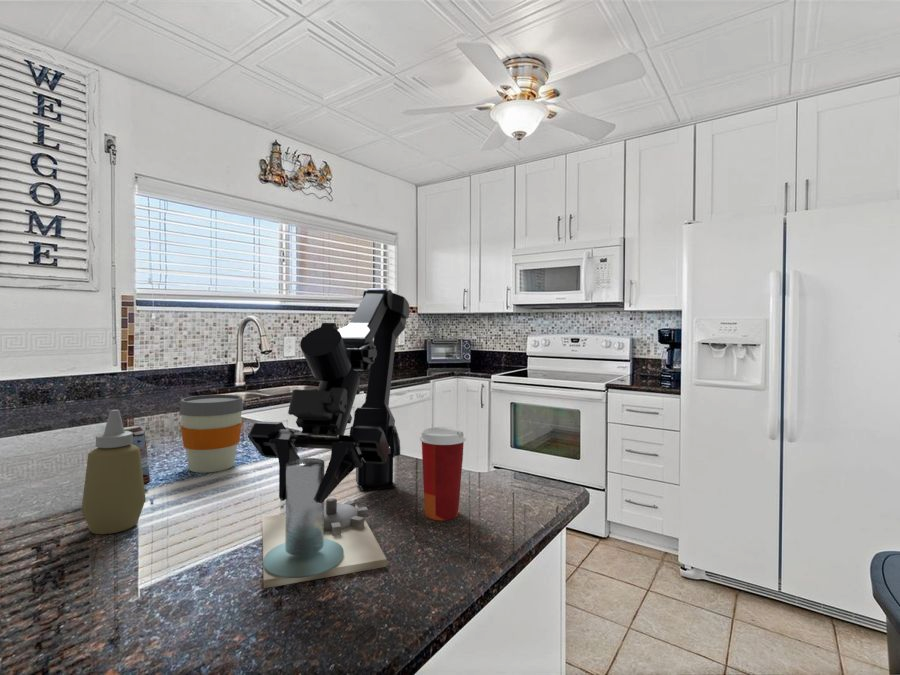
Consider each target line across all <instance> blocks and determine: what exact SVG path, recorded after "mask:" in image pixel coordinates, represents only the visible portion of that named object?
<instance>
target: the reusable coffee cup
mask: <svg viewBox="0 0 900 675" xmlns="http://www.w3.org/2000/svg"><path fill="white" fill-rule="evenodd" d="M243 401H244V400H243V397H242V396H240V395H236V394H205V395H204V394H203V395H195V396H188V397H183V398H181V400H180V406H179V414H180V415H181V421H182V423H181V424H182V425H180V430H181V438H182V444H183V448H184V449H185V451H186V457H187V465H188V470H189V471H190V472H194V473H213V472H221V471H225V470H228V469H231V468H232V467H233V466H235V461H236V460H235V459H236V454H237V447H238V444H239V443H240V440H241V433H242V425H243V422H242V421H241V419H242V411H244V404H243Z"/></svg>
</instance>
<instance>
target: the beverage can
mask: <svg viewBox="0 0 900 675" xmlns="http://www.w3.org/2000/svg"><path fill="white" fill-rule="evenodd" d="M124 430H125V431H130V432H132V433H133V443H131V444H132V445H136V446H137V447H139V449H140V455H141V464H142V472H143V481H144V488H146V487H147V485H148V484H149V483H150V482H151V475H150V468H149V458H148V446H147V438H146V432H145V431H144V429H143V428H142V426H141V425H134V426H133V425H132V426H126V427H124Z"/></svg>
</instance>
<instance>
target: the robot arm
mask: <svg viewBox="0 0 900 675" xmlns="http://www.w3.org/2000/svg"><path fill="white" fill-rule="evenodd" d="M409 317H410V303H409V300H407V298H406V297H404V296H403V295H399V294H397V293H394V292H392V290H391V289H388V288H368V289H364V291H363V295H362V300H361V302H360V303H359V305H358V307H357V309H356V310H355V312H354V314H353V315H352V316H351V320H349V323H347V325H346V326H343V327H341V328H338V326H337V324H336V322H322V324H321V325H320V327H317V328H315V329H312V330H311V331H309V332H308V333H306V334H305V335H304V336H303V337H302V338H301V340H300V346H299V347H300V349H301V351H302V354H303V356H304V358H305V360H306V363H307V365H308V366H309V367H308V368H309V370H310V371H311V373H312V375H313V378H315V379H317V380H319V381H320V382H319V385H318V388H317V389H300V388H299V389H293V390H292V393H291V396H290V397H291V398H290V401H289V408H288V412H287V414H288V415H289V416H291V415H292V416H294V417H295V418H296V420H295V424H296V426H297V427H298V428H301V429H302V430H301V432H296V431H295V432H294V431H293V430H291V429H287V428H286V426H285V425H284V423H283V422H281V421H265V420H264V421H263V420H261V421H260V420H259V421H257V422H254V424H253V425H252V426H251V428H250V431H249V432H248V434H247V438H248V439H249V440H250V442H251V444H252V445H253V446H254V447H255V449H256V451H258V453H259V455H260V456H262V457H264V458H270V459H271V458H272V459H278V466H279V468H278V469H279V470H278V472H279V473H278V474H279V475H278V479H279V480H278V497H279V499H280V500H281V501H283V502H284V501H286V464H287V463H288V462H289V461H292V460H296V459H301V457H300V456H299V455H298V452H299V450H300V448H305V449H319V450H320V449H321V450H322V449H323V450H324V449H325V450H331V452H330V454H331V455H330V459H329V463H328V465H327V468H326V470H325V472H324V478H323V481H322V484H321V486H320V490H319V494H318V498H317V500H318V502H319V503H323V502H324V501H326V500H327V499H328V497H330V495H331V493H332V492H333V491H334V490H335V489H336V488H337V487H338V486H339V485H340V484H341V482H342V481H343V480H344V479H345V478H346V477H348V475H350V474H351V473H352V472H353V471H354V470H355V483H356V484H357V485H358V486H359V488H360V489H361V490H362V491H363V492H367V491H376V490H384V489H393V488H394V489H395V488H396V483H395V482H394V458H395V457H397V456H398V457H399V456H400V455H401V439H400V437H399V436H400V435H399V433H398V429H397V427H396V426H395V424H396V423H395V422H396V420H395V418H394V416H393V413H392V411H391V408H390V406H389V404H390V395H391V388H392V387H391V386H392V379H393V378H392V376H393V369H394V359H395V350H396V342H397V339H398V337H399V336H400V335H401V334H402V332H403V331H404V330H405V328H406V323H407V319H409ZM357 371H361V372H362V371H364V372H365V371H368V380H367V387H366V394H365V395H366V396H365V401H364V403H363V404H362V405H361V406H360V407H357V408H356V409H355V411H354V415H352V414H351V413H352V409H353V405H354V402H355V399H356V396H357V395H359V394H360V393H361V388H360V382H361V377H360V375H359V373H358V372H357ZM352 416H353V417H352ZM352 420H353V423H352ZM348 424H351V427H350V430H349V435H347V434H346V435H345V432H346V429H347V426H348Z"/></svg>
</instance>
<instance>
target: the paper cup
mask: <svg viewBox="0 0 900 675" xmlns="http://www.w3.org/2000/svg"><path fill="white" fill-rule="evenodd" d="M418 440H419V441H420V442H421V456H422V457H421V460H422V480H423V481H422V482H423V484H422V485H423V500H424V501H423V504H424V516H425V517H426V518H427V519H430V520H433V521H441V522H443V521H445V522H446V521H451V520H453V519H456V518H457V517H458V515H459V508H460V494H461V485H462V484H461V482H462V473H463V472H462V470H463V460H464V459H463V458H464V443H465V441H466V437H465V436H464V432H463V430H461V429H459V428H455V427H454V428H453V427H444V426H442V427H441V426H440V427H430V428H425V429H424V430H423V431H422V432H421V436H419V437H418Z"/></svg>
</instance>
